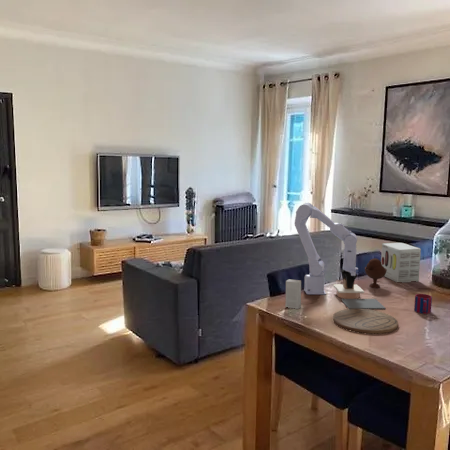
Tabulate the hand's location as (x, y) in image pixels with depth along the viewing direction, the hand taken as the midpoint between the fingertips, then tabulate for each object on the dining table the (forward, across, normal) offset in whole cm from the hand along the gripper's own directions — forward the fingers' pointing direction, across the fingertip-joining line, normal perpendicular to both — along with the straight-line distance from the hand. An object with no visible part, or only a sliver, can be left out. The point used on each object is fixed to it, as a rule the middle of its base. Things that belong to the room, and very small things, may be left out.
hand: (348, 286), depth 221 cm
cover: (+1, 0, 0) cm, 1 cm away
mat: (+4, -13, -3) cm, 14 cm away
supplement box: (+5, +32, -37) cm, 49 cm away
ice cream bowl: (+5, +16, -18) cm, 24 cm away
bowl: (+4, 0, 0) cm, 4 cm away
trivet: (+5, -36, +3) cm, 36 cm away
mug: (+5, -24, -26) cm, 35 cm away
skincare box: (+5, -16, +29) cm, 34 cm away
